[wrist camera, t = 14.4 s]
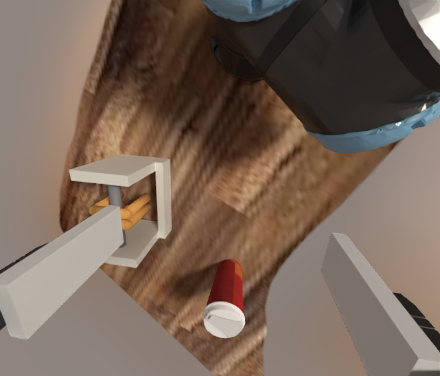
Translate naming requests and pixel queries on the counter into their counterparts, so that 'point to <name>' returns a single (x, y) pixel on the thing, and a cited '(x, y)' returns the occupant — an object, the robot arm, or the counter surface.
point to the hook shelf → (144, 229)
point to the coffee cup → (225, 302)
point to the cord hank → (127, 210)
